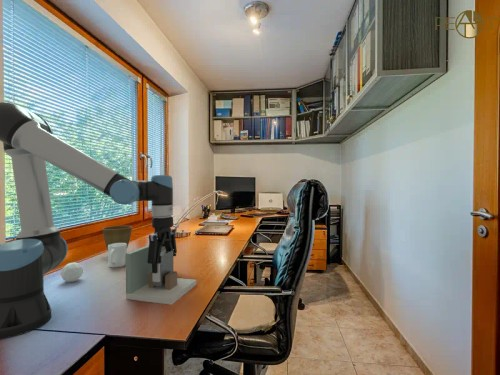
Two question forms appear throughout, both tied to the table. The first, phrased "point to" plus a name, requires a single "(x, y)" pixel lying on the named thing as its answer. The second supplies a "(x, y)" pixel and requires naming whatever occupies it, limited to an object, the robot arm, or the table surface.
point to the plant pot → (117, 234)
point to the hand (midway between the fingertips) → (163, 277)
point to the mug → (117, 254)
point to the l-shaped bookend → (142, 281)
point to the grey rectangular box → (165, 266)
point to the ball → (71, 272)
